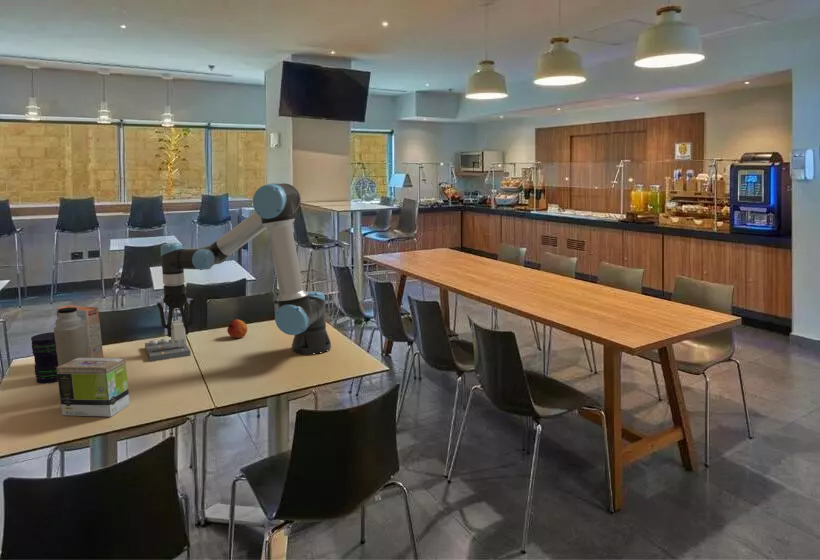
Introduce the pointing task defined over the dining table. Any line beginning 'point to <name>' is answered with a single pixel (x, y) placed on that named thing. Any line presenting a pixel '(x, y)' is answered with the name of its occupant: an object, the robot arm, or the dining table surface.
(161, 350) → the console
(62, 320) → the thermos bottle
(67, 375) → the tea box
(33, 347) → the black striped canister
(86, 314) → the cracker box
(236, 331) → the fruit
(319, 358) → the dining table surface
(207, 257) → the robot arm
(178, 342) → the block
